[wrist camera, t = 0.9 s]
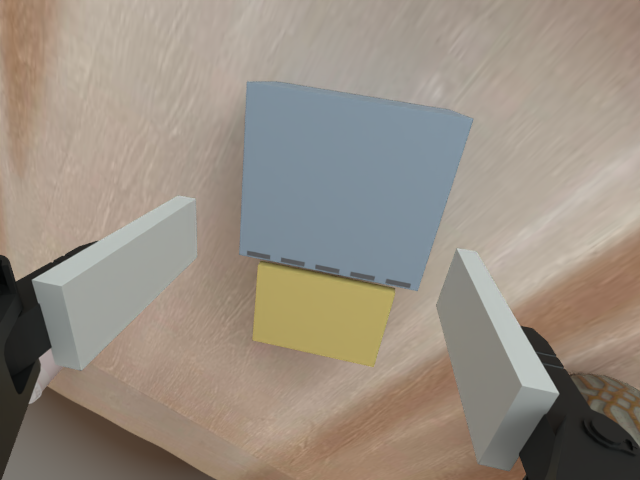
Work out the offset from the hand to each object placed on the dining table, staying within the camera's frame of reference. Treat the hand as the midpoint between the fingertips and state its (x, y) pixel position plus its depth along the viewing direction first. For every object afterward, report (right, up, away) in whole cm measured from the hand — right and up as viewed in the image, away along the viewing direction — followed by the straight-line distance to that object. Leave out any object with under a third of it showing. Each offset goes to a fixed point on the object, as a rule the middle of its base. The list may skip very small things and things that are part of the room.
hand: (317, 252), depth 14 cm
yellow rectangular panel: (0, -7, +23) cm, 24 cm away
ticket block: (+3, +8, +24) cm, 26 cm away
